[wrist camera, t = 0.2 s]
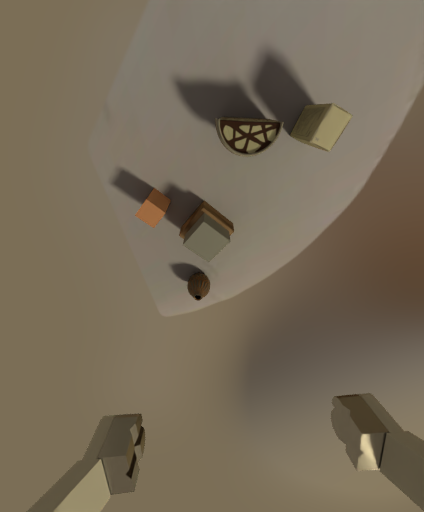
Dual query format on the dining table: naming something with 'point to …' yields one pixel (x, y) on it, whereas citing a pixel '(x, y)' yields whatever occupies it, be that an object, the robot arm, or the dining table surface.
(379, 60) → the dining table surface
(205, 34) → the dining table surface
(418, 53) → the dining table surface
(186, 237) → the tower top block
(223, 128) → the food container
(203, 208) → the tower base block
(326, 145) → the skincare box
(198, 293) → the vase
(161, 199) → the terracotta block
